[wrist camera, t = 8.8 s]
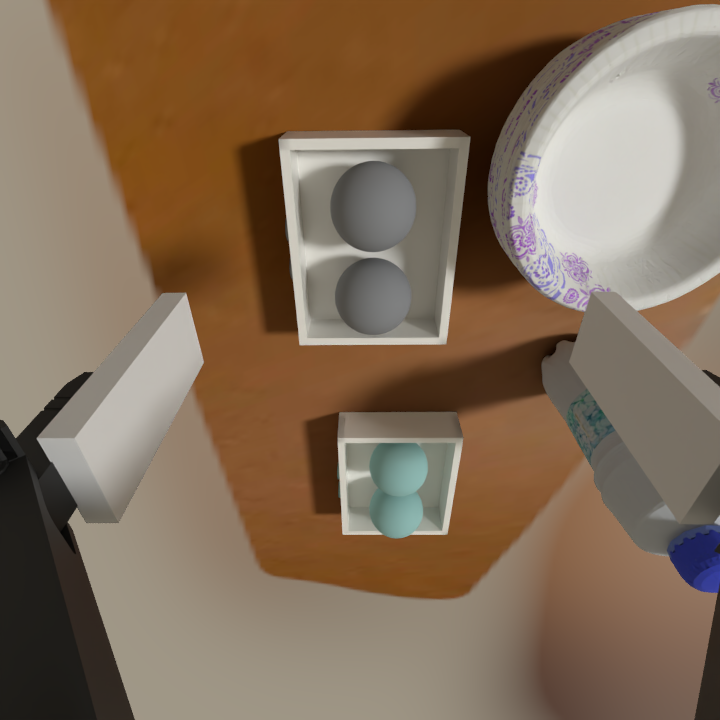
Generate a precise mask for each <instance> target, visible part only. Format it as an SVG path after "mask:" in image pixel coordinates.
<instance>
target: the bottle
mask: <svg viewBox="0 0 720 720" xmlns="http://www.w3.org/2000/svg"><path fill="white" fill-rule="evenodd" d="M574 345H575V342H569V341H566V340H563V341H560V342H559V343H557V345H556V352H555V353H554V354H553V355H552V356H550V355H547V356H545V357H544V359H543V361H542V366H541V367H542V378H543V379H542V382H543V386H544V389H545V391H546V393H547V395H548V396H549V398H550V400H551V401H552V403H553V404H554V406H555V407H556V408H557V410H558V411H559V413H560V414H561V415H562V417H563V418H564V420H565V421H566V423H567V425H568V426H569V428H570V430H571V432H572V434H573V435H574V437H575V439H576V441H577V442H578V444H579V446H580V448H581V450H582V451H583V453H584V455H585V457H586V458H587V460H588V462H589V464H590V465H591V467H592V469H593V471H594V482H595V485H596V487H597V489H598V490H599V491H600V492H601V496H602V500H603V502H604V504H605V505H606V506H607V508H608V509H609V510H610V511H611V512H612V513H613V515H614V516H615V517H616V518H617V520H618V521H619V523H620V524H621V525H622V527H623V528H624V529H625V531H626V532H627V533H628V535H629V536H630V537H631V539H632V540H633V542H634V543H635V544H636V545H637V546H638V547H639V548H641V549H642V550H644V551H646V552H649V553H652V554H656V555H662V556H669V557H670V560H671V561H672V563H673V564H674V566H675V568H676V569H677V571H678V572H679V574H680V575H681V577H682V578H683V579H684V580H685V581H686V582H687V583H688V584H689V585H690V586H692V587H694V588H695V589H697V590H700V591H703V592H711V593H714V592H715V593H718V589H719V584H720V554H719V553H717V552H715V551H714V550H715V549H716V547H717V546H718V544H719V543H720V515H719V517H718V518H717V519H716V521H715V522H714V524H679V522H678V521H677V520H676V518H675V517H674V515H673V514H672V512H671V511H670V509H669V508H668V506H667V505H666V503H665V502H664V501H663V499H662V498H661V496H660V495H659V493H658V492H657V490H656V489H655V487H654V486H653V484H652V483H651V481H650V480H649V479H648V477H647V476H646V474H645V473H644V471H643V470H642V468H641V467H640V465H639V464H638V462H637V461H636V459H635V458H634V457H633V455H632V454H631V452H630V451H629V449H628V448H627V446H626V445H625V443H624V442H623V440H622V439H621V437H620V436H619V435H618V433H617V432H616V430H615V429H614V427H613V426H612V424H611V423H610V421H609V420H608V418H607V417H606V416H605V414H604V413H603V411H602V410H601V408H600V407H599V405H598V404H597V402H596V401H595V399H594V398H593V396H592V395H591V394H590V392H589V391H588V389H587V388H586V386H585V385H584V383H583V382H582V380H581V379H580V377H579V376H578V374H577V373H576V372H575V370H574V369H573V367H572V366H571V364H570V363H569V360H570V357H571V354H572V351H573V348H574Z"/></svg>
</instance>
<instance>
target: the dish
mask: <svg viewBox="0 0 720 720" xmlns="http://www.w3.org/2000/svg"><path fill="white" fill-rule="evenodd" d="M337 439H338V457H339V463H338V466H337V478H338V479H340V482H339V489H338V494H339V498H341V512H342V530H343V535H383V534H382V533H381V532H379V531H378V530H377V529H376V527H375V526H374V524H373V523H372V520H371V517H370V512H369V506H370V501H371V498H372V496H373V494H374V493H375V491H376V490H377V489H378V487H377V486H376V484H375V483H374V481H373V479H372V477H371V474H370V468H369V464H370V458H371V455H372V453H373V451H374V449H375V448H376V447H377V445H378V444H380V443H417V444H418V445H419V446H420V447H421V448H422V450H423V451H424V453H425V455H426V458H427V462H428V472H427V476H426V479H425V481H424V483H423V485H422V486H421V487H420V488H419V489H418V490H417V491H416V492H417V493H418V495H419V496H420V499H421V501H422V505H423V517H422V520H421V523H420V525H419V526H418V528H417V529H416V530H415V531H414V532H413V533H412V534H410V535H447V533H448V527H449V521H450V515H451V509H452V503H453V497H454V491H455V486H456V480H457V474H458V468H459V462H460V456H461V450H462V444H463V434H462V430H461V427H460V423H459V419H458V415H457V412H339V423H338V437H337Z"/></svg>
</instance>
